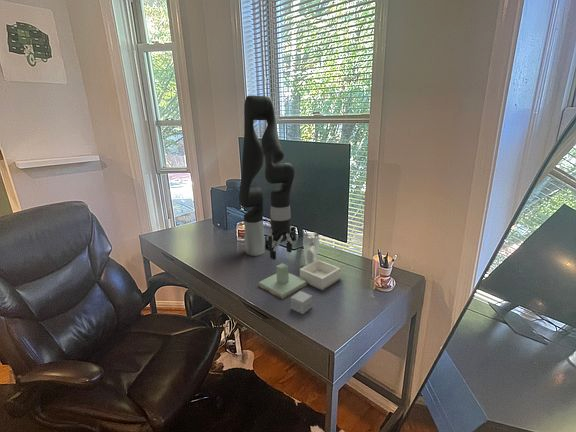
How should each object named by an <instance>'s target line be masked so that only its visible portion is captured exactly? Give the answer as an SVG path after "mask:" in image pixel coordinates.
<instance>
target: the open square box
mask: <svg viewBox="0 0 576 432" xmlns="http://www.w3.org/2000/svg"><path fill="white" fill-rule="evenodd" d="M341 271H342V269H341V267H338V266H336V265H333V264H331V263H328V262H325V261H323V260H321V259H317V260H316V261H314V262H313V263H311V264H309V265H307V266H305V265H304V266H303V267H301V268H299V278H301V279H303V280H305V281H307V285H309V286H312V287H315V288H316V289H318V290H321V291H324V290H325V289H327V288H328V287H330V286H331V285H334V284H335V283H336V282H338V281H340V280H341V276H342V275H341V274H342V273H341Z"/></svg>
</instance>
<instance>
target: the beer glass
mask: <svg viewBox="0 0 576 432" xmlns="http://www.w3.org/2000/svg"><path fill="white" fill-rule="evenodd" d="M302 243H303V253H304V258H305V260H304V267H305V266H307V265H309V264H311V263H313V262H314V261H316V260H318V255H319V249H320V238H319V234H318V233H317V232H311V231H308V232H306V233H305V232H304V233H303V242H302Z"/></svg>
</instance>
